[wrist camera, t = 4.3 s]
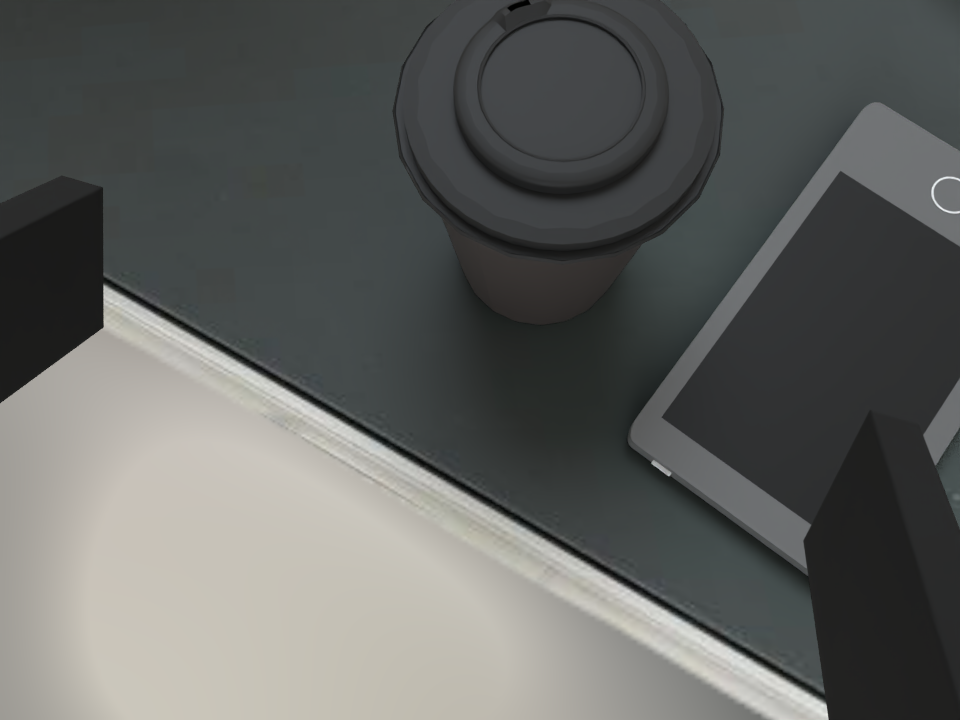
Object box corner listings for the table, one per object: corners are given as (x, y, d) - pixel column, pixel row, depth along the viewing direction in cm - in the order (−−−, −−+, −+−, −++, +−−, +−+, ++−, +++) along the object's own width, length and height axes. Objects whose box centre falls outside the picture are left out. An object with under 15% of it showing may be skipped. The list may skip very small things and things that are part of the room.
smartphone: (842, 606, 27) (851, 605, 27) (618, 442, 29) (621, 438, 28) (1076, 238, 30) (1089, 229, 30) (863, 107, 32) (872, 96, 31)
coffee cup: (510, 102, 32) (520, -118, 23) (704, 224, 31) (803, 46, 21) (370, 275, 30) (316, 117, 21) (570, 413, 29) (610, 313, 19)
